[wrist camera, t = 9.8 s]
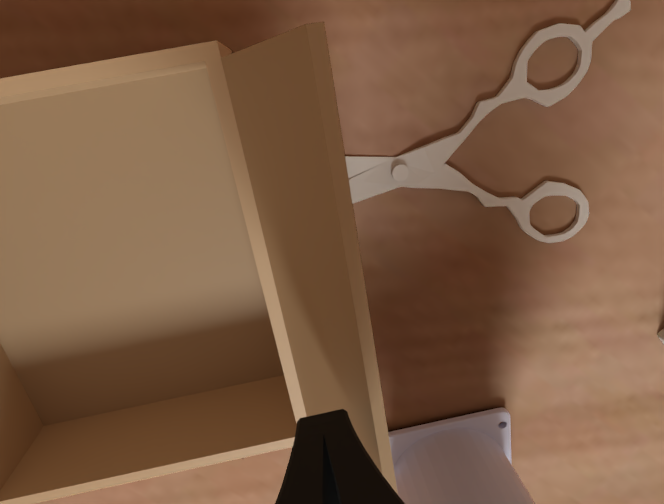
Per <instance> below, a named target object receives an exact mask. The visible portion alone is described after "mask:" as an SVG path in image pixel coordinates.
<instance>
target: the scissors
mask: <svg viewBox="0 0 664 504" xmlns="http://www.w3.org/2000/svg"><path fill="white" fill-rule="evenodd" d="M630 10H631V2H630V0H615V1H614V3H613V4H612V5H611V7H610V8H609V9H608V10H607V12H606V13H605V14H604V15H602V16H601V17H600V18H598V19H597V20H596V21H594V22H593V23H592V24H591V25H590V26H588V27H587V28H586V29H585V30H583V29H582V27H581V26H580V25H572V24H563V23H559V24H555V25H552V26H549V27H547V28H544V29H541V30H539V31H536V32H534V34H533V35H532V36H531V37H530V38H529V39H528V40H527V41H526V43H525V44H524V45H523V47H522V48H521V49H520V50H519V52H518V54H517V57H516V59H515V61H514V63H513V66H512V70H511V74H510V78H509V80H508V81H507V82H506V83H505V85H504V86H503V87H502V89H501V90H500V91H499V93H498V94H497V95H496V97H493V98H490V99H486V100H483V101H479V102H477V103H476V105H475V108H474V110H473V112H472V114H471V116H470V118H469V119H468V121H467V122H466V123H465V124H464V125H463V126H462V127H461V129H460V130H459V131H458V132H457V133H455V134H452V135H449V136H446V137H444V138H441V139H438V140H436V141H433V142H431V143H429V144H426V145H424V146H421V147H419V148H416V149H414V150H412V151H409V152H407V153H404V154H402V155H399V156H397V157H366V156H345V159H346V166H347V172H348V178H349V185H350V191H351V198H352V204H353V203H356V202H359V201H362V200H364V199H367V198H370V197H373V196H376V195H379V194H382V193H385V192H388V191H390V190H393V189H396V188H398V187H409V188H436V189H448V190H456V191H468V192H470V193H472V194H473V195H475V196H476V197H477V199H478V200H479V201H480V203H481V204H482V205H483V206H485V207H496V206H506V207H507V208H508V209H509V210H510V212H511V213H512V214H513V216H514V217H515V218H516V221H517V223H518V225H519V227H520V228H521V229H522V230H523V231H524V232H525V233H527V234H528V235H530V236H531V237H533V238H534V239H536V240H538V241H541V242H546V243H555V242H561V241H564V240H567V239H569V238H571V237H573V236H574V235H575V234H576V233H577V232H578V231H579V230H580V229H581V228H582V227H583V226H584V225H585V223H586V222H587V219H588V216H589V203H588V201H587V199H586V198H585V196H584V195H583V193H582V192H581V190H579V189H577V188H574V187H572V186H569V185H567V184H565V183H562V182H554V181H544V182H542V183H541V184H540V185H538V186H537V187H536V188H534V189H533V190H532V191H530V192H529V193H528V194H527V195H525V196H524V197H523V198H521V199H520V198H518V197H515V196H512V197H501V198H498V197H496V196H494V195H492V194H490V193H487V192H486V191H484V190H482V189H480V188H479V187H477V186H476V185H474V184H473V183H471V182H470V181H469V180H468V179H467V178H466V177H464V176H463V175H462V174H461V173H460V172H458V171H457V170H455V169H453V168H452V167H450V166H448V165H447V164H445V162H446V161H447V160H448V158H449V157H450V156H451V155H452V154H453V153H454V152H455V150H456V149H457V148H458V147H459V146H460V145H461V144H462V142H463V141H464V140H465V139H466V138H467V137H468V135H469V134H470V133H471V132H472V130H473V129H474V128H475V127H476V126H477V124H478V123H479V122H480V121H481V120H482V119H483V118H484V117H485V116H486V115H487V114H488V113H489V112H491V111H492V110H494V109H495V108H496V107H498V106H499V105H500V104H503V103H507V102H510V101H514V100H518V99H522V98H526V99H530V100H532V101H534V102H536V103H538V104H540V105H542V106H544V107H549V106H551V105H553V104H555V103H557V102H558V101H560V100H562V99H564V98H565V97H567V96H568V95H569V94H570V93H571V92H572V91H573V89H574V88H575V87H576V86H577V85H578V84H579V83H580V81H581V80H582V78H583V77H584V76H585V74H586V73H587V71H588V68H589V65H590V62H591V55H592V42H593V41H594V40H595V39H596V38H597V37H598V36H599V34H600V33H601V32H602V31H603V30H604V29H605V28H606V27H608V26H609V25H610V24H611V23H612V22H613V21H614V20H616V19H619V18H621V17H622V16H623V15H625V14H626V13H628V12H629V11H630ZM556 37H567V38H569V39H570V40H571V41H572V42H574V44H575V46H576V48H577V49H578V58H577V66H576V68H575V70H574V72H573V74H572V75H571V76H570V77H569V78H568V79H567V80H566V81H565V82H564V83H562V84H561V85H559V86H557V87H554V88H551V89H547V90H538V89H536V88H535V87H533V86H532V85H531V84H529V83H528V82H527V62H528V60H529V58H530V57H531V55H532V54H533V52H534V51H535V50H536V49H537V48H538V47H539V46H540V45H541V44H542V43H544V42H545V41H547V40H549V39H552V38H556ZM545 196H567V197H569V198H571V199H573V200H574V201H575V202H576V204H577V207H576V217H575V221H574V222H573V223H572V225H571V226H570V227H569V228H567V229H566V230H564V231H563V232H561V233H556V234H550V235H543V234H541V233H540V232H538V231H537V230H535V229H534V228H533V227H532V226H531V225H530V215H529V211H530V210H531V208H532V206H533V204H535V203H536V202H537V201H539V200H540V199H542V198H543V197H545Z"/></svg>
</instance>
